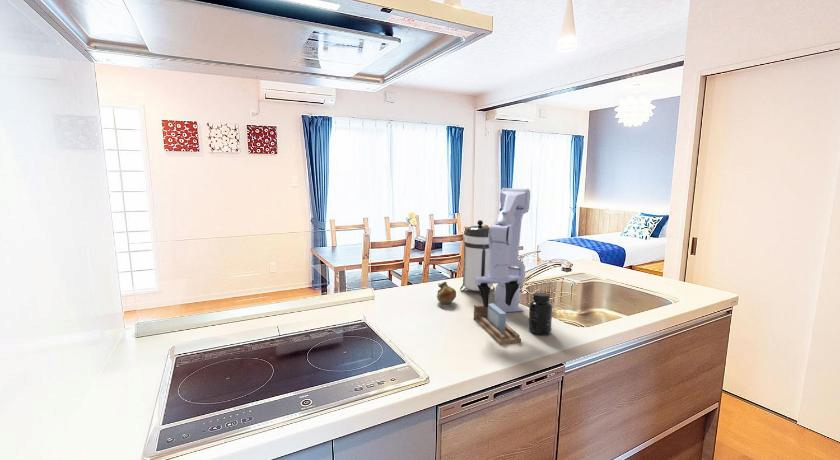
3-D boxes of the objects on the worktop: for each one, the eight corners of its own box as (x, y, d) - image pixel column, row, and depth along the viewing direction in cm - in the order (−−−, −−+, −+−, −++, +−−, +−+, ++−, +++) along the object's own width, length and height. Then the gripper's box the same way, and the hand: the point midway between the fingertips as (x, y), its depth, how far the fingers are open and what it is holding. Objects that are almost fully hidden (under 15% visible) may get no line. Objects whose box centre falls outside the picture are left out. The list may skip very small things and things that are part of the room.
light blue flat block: (487, 321, 126) (487, 304, 125) (492, 321, 127) (493, 303, 126) (498, 332, 117) (499, 313, 117) (505, 332, 118) (506, 313, 117)
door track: (473, 318, 131) (474, 304, 130) (492, 317, 133) (493, 303, 132) (499, 344, 112) (500, 327, 111) (521, 342, 113) (521, 325, 113)
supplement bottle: (554, 335, 118) (556, 297, 116) (532, 335, 118) (533, 297, 116) (546, 327, 125) (548, 291, 123) (525, 327, 125) (527, 291, 123)
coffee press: (463, 297, 153) (466, 222, 149) (456, 285, 169) (459, 217, 165) (506, 296, 155) (510, 223, 150) (495, 285, 171) (498, 218, 166)
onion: (434, 305, 143) (434, 285, 142) (438, 298, 151) (438, 279, 150) (454, 307, 142) (455, 286, 140) (457, 300, 149) (457, 280, 148)
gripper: (482, 267, 113) (480, 311, 116) (526, 265, 117) (524, 308, 119) (473, 262, 120) (471, 303, 122) (515, 260, 124) (513, 300, 126)
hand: (496, 305), depth 121 cm, fingers open, 7 cm apart
